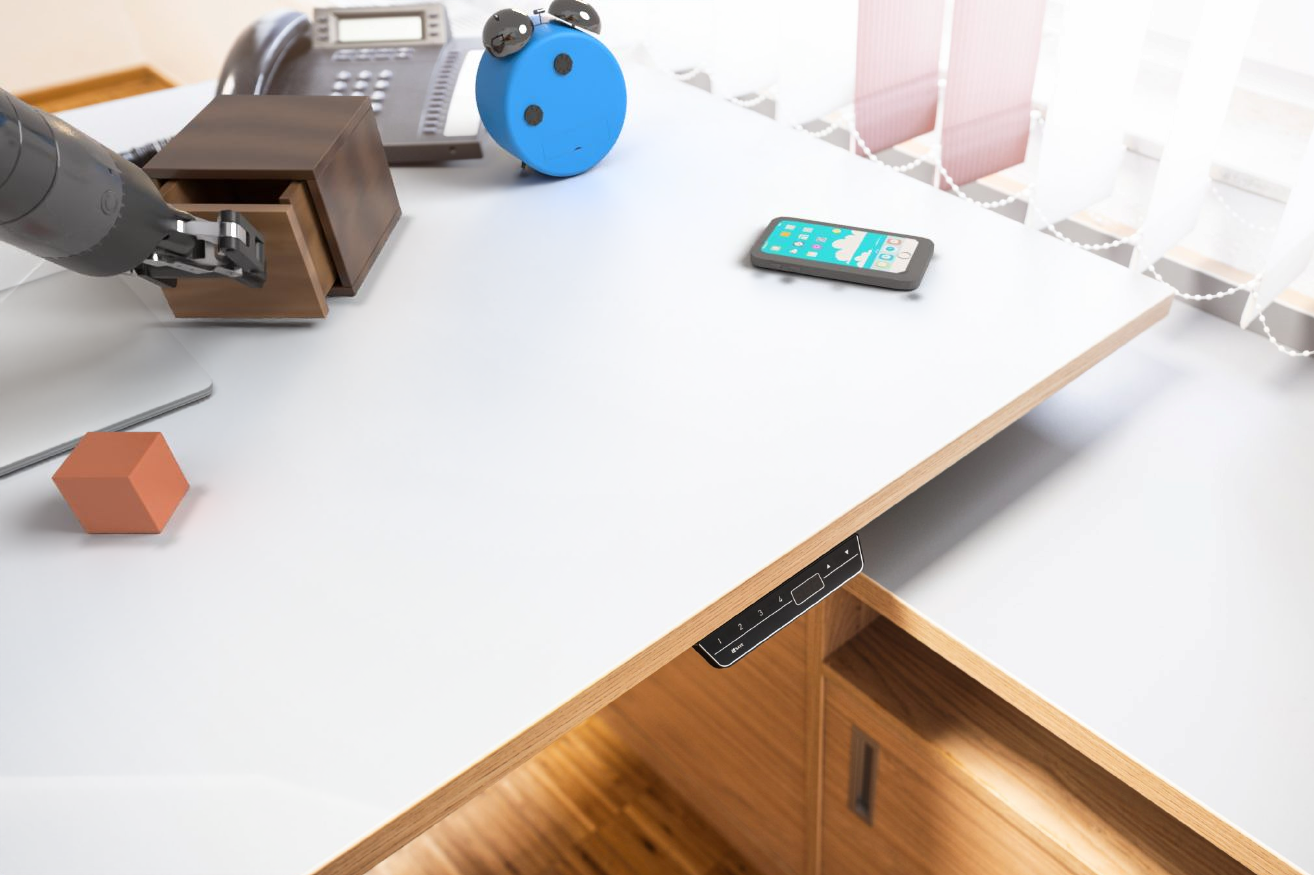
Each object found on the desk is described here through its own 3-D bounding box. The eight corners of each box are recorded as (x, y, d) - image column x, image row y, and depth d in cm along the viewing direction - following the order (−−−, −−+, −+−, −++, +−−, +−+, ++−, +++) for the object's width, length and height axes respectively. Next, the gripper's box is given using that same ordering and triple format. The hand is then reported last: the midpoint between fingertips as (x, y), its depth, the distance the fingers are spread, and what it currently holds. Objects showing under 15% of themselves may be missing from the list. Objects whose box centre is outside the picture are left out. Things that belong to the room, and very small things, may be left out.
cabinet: (355, 296, 85) (313, 169, 78) (197, 295, 85) (140, 168, 77) (402, 213, 96) (369, 95, 88) (262, 212, 95) (217, 94, 88)
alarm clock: (603, 140, 108) (583, -19, 98) (637, 160, 105) (619, -2, 95) (489, 174, 102) (454, 8, 92) (521, 196, 99) (488, 27, 88)
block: (86, 533, 65) (50, 477, 61) (119, 486, 68) (87, 431, 65) (160, 533, 65) (128, 477, 62) (190, 486, 68) (161, 431, 65)
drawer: (303, 354, 78) (261, 245, 71) (146, 354, 77) (90, 244, 71) (374, 236, 91) (343, 135, 85) (240, 235, 90) (200, 134, 84)
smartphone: (917, 282, 87) (745, 255, 89) (916, 293, 87) (745, 265, 90) (937, 236, 93) (776, 211, 95) (936, 246, 93) (776, 222, 96)
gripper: (181, 126, 60) (315, 224, 76) (-79, 123, 59) (114, 222, 76) (180, 257, 59) (315, 326, 76) (-80, 255, 59) (114, 325, 76)
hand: (214, 274), depth 76 cm, fingers closed on drawer, 5 cm apart
